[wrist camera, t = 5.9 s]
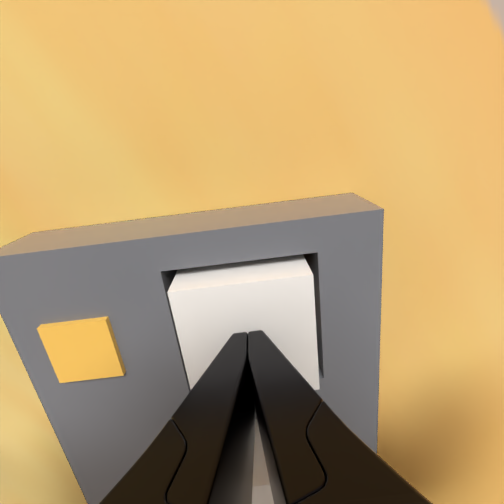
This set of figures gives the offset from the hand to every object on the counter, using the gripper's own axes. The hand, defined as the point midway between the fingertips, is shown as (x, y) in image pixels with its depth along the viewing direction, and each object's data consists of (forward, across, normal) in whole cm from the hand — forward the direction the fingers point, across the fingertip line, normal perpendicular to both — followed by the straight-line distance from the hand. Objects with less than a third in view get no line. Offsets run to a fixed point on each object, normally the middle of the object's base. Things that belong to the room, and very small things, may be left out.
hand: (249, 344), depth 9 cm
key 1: (+3, 0, 0) cm, 3 cm away
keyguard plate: (+3, +2, +6) cm, 7 cm away
